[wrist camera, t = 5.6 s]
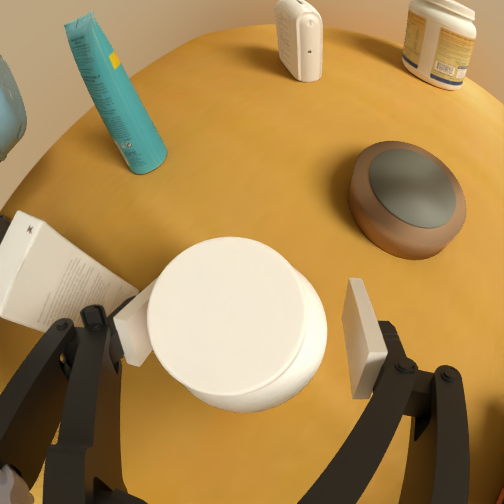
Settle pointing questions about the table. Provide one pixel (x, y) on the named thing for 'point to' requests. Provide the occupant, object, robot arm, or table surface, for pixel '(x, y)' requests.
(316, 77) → the photo printer
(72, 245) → the skincare box
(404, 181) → the walnut plinth
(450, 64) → the supplement tub
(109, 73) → the tube
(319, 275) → the table surface
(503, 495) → the potted flower
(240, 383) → the supplement bottle
